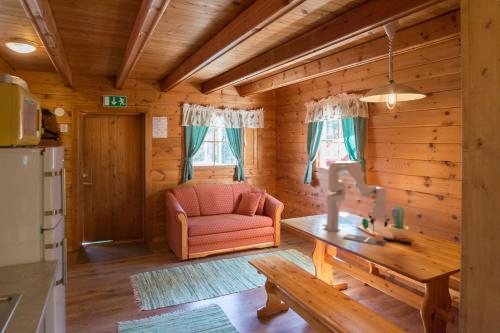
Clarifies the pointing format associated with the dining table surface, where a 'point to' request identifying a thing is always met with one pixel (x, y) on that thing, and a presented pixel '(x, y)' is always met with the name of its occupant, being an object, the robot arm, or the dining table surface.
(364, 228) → the crank mechanism
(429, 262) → the dining table surface
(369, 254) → the dining table surface
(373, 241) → the mat
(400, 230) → the potted cactus
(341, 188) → the robot arm
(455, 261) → the dining table surface
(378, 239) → the ball
